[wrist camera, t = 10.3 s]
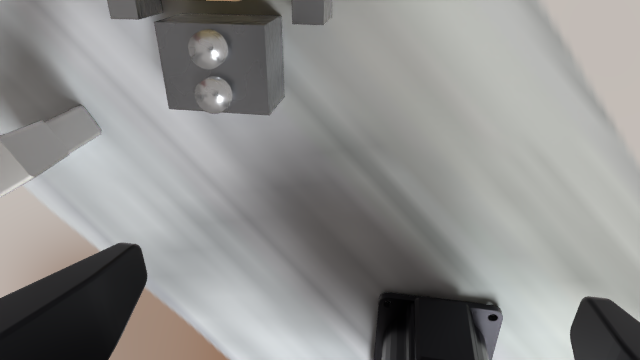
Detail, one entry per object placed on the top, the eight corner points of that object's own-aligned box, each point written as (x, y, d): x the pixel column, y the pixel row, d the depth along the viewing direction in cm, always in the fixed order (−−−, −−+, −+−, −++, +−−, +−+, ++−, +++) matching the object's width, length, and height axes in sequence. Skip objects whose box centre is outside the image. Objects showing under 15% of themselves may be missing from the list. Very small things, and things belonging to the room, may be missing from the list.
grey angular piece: (52, 161, 24) (-90, 249, 17) (30, 135, 24) (-126, 214, 17) (144, 109, 22) (20, 186, 15) (122, 78, 21) (-18, 143, 14)
